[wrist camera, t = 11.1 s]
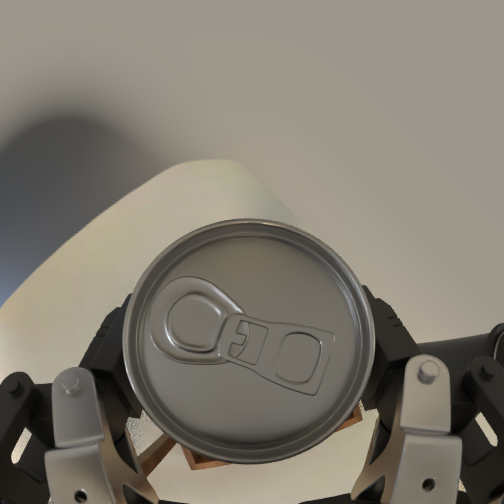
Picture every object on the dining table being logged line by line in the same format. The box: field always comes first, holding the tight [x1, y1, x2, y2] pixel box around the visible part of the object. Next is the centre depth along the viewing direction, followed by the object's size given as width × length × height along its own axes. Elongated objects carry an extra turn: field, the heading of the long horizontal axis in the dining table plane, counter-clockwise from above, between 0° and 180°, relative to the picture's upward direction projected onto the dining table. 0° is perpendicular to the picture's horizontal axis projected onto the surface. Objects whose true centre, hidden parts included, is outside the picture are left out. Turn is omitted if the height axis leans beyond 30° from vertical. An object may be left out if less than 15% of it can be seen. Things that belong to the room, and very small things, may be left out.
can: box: [122, 218, 375, 465], centre depth 11 cm, size 6×6×12 cm
